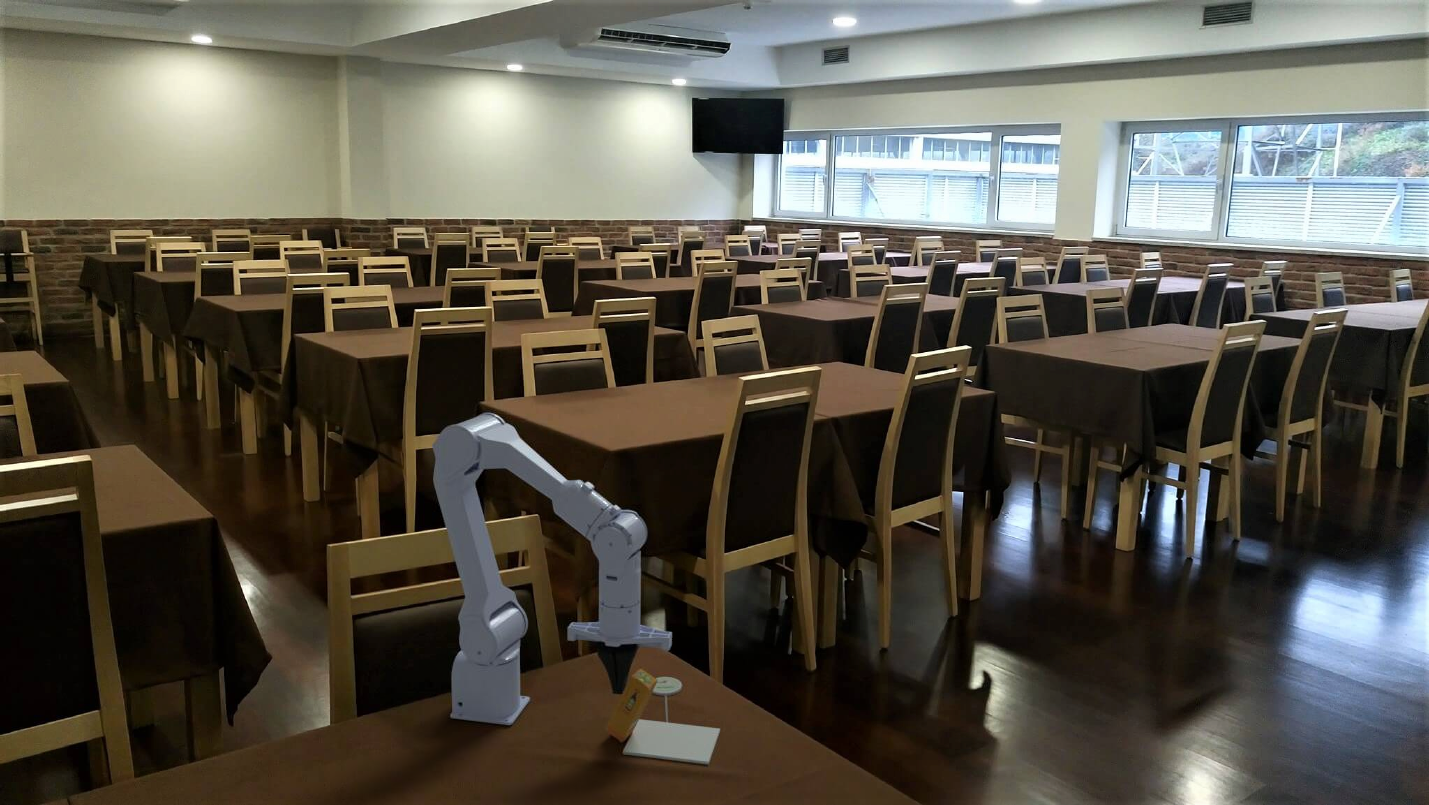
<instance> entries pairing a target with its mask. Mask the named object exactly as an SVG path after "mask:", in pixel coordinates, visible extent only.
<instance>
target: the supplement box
mask: <svg viewBox="0 0 1429 805" xmlns="http://www.w3.org/2000/svg"><path fill="white" fill-rule="evenodd" d="M657 681H658V680H657V679H656V677H654V676H652V675H651V673H648V672H647V671H646V670H644V669H643V668H640V669H638V670H636V672H634V673H633V674H631V675H630V677H629V679H628V680H627V683H626V687H625V689H624V692H623V694H622V695H620V698H619V699H618V702H617V704H616V706H615V708H614V710H613V712H612V714H611V716H610V718H609V720H608V722H607V724H606V727H604V730H605V732H606V733H608V734H610V735H611V736H612V737H614V738H615V739H616V740H618V741H619V742H620V743H625V741H626V740H627V739H629V738H630V736H631V734H632V732H633V730H634V728H635V726H636V725H637V723H638V721H639V719H640V718H641V716H642V714H643V712H644V710H645V708H646V705H647V704H648V701H649V700H650V699H651V695H652V694H653V693H652V692H653V689H654V687H655V685H656V683H657Z"/></svg>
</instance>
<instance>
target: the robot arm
mask: <svg viewBox="0 0 1429 805" xmlns="http://www.w3.org/2000/svg"><path fill="white" fill-rule="evenodd" d="M431 447H432V450H433V453H434V457H435V463H434V470H433V478H432V479H433V486H434V489H435V493H436V496H437V500H438V503H439V506H440V510H441V513H442V514H441V515H442V517H443V521H444V525H445V528H446V529H445V530H446V532H447V536H448V540H449V542H450V547H451V549H452V553H453V558H454V561H455V565H456V568H457V572H458V575H459V576H458V577H459V580H460V582H461V585H462V589H463V592H464V601H463V602H462V606H461V609H460V611H459V614H458V618H457V620H458V623H459V627H460V628H459V629H460V630H459V636H458V639H459V640H458V641H459V646H460V647H459V648H460V649H461V650H460V651H459V652H458V653H457V655H456V656H455V659H454V661H453V664H452V670H451V703H452V708H451V709H452V711H451V713H450V719H457V720H464V721H472V722H479V723H489V724H497V725H507V726H511V725H513V724H514V723H515V721H516V720H517V718H518V717H519V716H520V714H521V713H522V712H523V710H524V709H525V707H526V706H527V705H528V703H529V702H530V701H531V698H530V696H525V695H521V669H520V668H521V667H520V666H521V665H520V663H521V662H520V661H521V660H520V658H521V657H520V647H521V638H523V637H524V636H525V635H526V633H527V632H528V631H527V630H528V627H529V620H528V617H527V613H526V612H525V610H524V608H522V606H521V605H520V603H519V601H518V600H517V596H516V593H515V592H514V591H513V590H512V589H510V588H509V587H506V586H505V585H504V584H503V582H502V579H501V574H500V571H499V567H498V563H497V560H496V557H495V552H494V549H493V545H492V542H491V538H490V535H489V530H488V526H487V524H486V519H485V516H484V513H483V508H482V505H481V502H480V497H479V495H478V491H477V488H476V482H477V480H478V479H479V477H480V475H481V474H482V472H484V470H489V469H490V470H491V469H507V470H508V471H510V472H511V473H513V474H514V475H515V476H517V477H518V478H519V479H521V480H522V481H524V482H526V483H527V484H528V485H530V486H532V487H533V488H534V489H535V490H537V491H538V492H540V493H541V494H543V495H544V496H546V497H547V498H549V499H550V500H551V501H552V502H551V503H552V508H553V512H554V513H555V515H557V516H558V517H559V518H561V519H562V520H563V521H565V523H567V524H568V525H570V526H571V528H573V529H575V530H576V531H577V532H578V533H580V534H581V535H582V536H583V537H584V538H586V539H587V540H588V541H590V545H591V549H592V551H593V554H594V555H595V557H596V558H597V560H598V564H599V565H598V568H599V569H598V621H596V622H595V621H594V622H593V621H592V622H591V621H590V622H574V621H573V622H571V623H570V624H568V625H569V626H567V641H570V642H571V641H572V642H575V641H576V640H582V641H591V642H598V644H599V645H598V648H597V650H596V653H597V656H598V658H599V660H600V661H601V663H602V664H603V667H604V668H605V671H606V674H607V676H608V679H609V682H610V685H611V690H612V694H614V695H620V696H622V694H623V692H624V689H625V687H626V685H627V683H628V677H629V674H630V671H631V667H632V665H633V662H634V659H635V657H636V654H637V652H638V650H639V648H640V647H650V648H657V649H658V648H659V649H661V650H662V651H666V652H667V651H670V649H671V647H672V645H673V641H672V640H673V639H672V638H673V632H672V631H665V630H660V629H656V628H653V627H649V626H647V625H642V624H641V594H642V593H641V588H642V587H641V586H642V585H641V578H642V568H641V567H642V566H641V563H642V562H641V561H642V560H641V558H642V557H641V555H642V554H641V553H642V552H641V550H640V549H641V548H642V547H643V546H644V544H645V543H646V542H647V539H648V528H647V525H646V523H645V521H644V519H643V518H642V517H641V516H639V514H638V512H636V511H634V510H631V509H622V508H621V507H619V506H618V505H617V504H615V505H614V504H612V503H611V502H610V501H608V500H607V499H606V498H605V497H603V496H602V495H601V494H600V493H598V492H597V491H595V490H594V489H595V485H593V483H591V482H589V481H586V482H584V481H583V480H581V479H573V480H568V479H566V477H564V475H562V474H561V473H560V472H558V471H557V469H555V468H554V467H553V466H552V465H550V463H549V462H547V461H546V459H544V458H543V457H542V456H540V454H539V453H537V452H536V451H535V450H534V449H533V448H531V446H529V445H528V443H526V442H525V441H524V440H523V439H522V437H520V435H519V434H518V432H517V430H516V428H515V427H514V426H513V425H511V424H509V423H506V422H505V420H504V419H503V418H502V417H500V416H499V415H498V414H497V413H496V414H495V413H493V412H492V413H491V412H483V413H481V414H479V415H477V416H476V417H473V418H470V419H467V420H465V421H462V422H460V423H456V424H451V425H447V426H446V427H445V428H444V429H442V431H441V432H440V433H439V435H438V436H437V438H436V439H435V440H434V442H433V443H432V446H431Z"/></svg>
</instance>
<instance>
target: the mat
mask: <svg viewBox="0 0 1429 805" xmlns="http://www.w3.org/2000/svg"><path fill="white" fill-rule="evenodd" d="M720 732H721V728H717V727H710V726H700V725H699V726H698V725H692V724H684V723H673V722H668V723H667V722H666V721H657V720H647V719H640V718H639V720H638V722H637V724H636V726H635V728H634V730H633V732H632V734H631V735H630V736H629V737H628V740H627V743H626V745H625V747H624V748H623V751H622V755H629V756H635V757H644V758H645V757H646V758H651V759H652V758H654V759H660V760H661V759H662V760H669V761H677V762H684V763H685V762H686V763H692V764H694V763H695V764H701V765H710V762H711V759H712V755H713V752H714V750H715V747H716V743H717V741H718V739H719V735H720Z"/></svg>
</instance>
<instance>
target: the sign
mask: <svg viewBox="0 0 1429 805" xmlns="http://www.w3.org/2000/svg"><path fill="white" fill-rule="evenodd" d="M655 679H657V680H658V681H657V683H656V685H655V687H654V689H653V692H652V694H654V695H658V696H662V697H664V711H665V712H664V713H665V722H667V723H669V718H668V714H669V712H668V696H674V695H676V694H679V693H680V692H681V691H682V689H683V684H682V682H681V681H680V680H679V679H677V678H675V677H670V676H661V677H660V676H659V677H655Z"/></svg>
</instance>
